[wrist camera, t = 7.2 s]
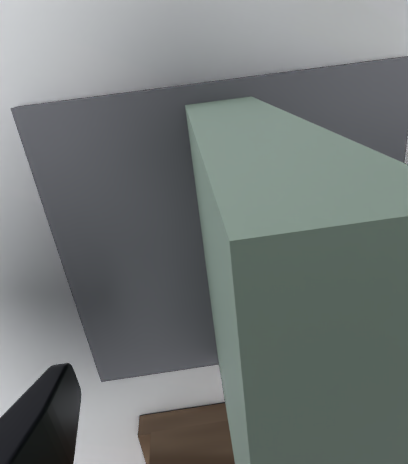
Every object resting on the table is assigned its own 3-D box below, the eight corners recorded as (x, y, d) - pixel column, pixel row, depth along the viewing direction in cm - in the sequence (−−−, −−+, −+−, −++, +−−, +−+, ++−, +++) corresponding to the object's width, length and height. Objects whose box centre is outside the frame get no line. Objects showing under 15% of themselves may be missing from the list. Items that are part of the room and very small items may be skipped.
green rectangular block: (265, 348, 15) (374, 682, 7) (217, 355, 15) (272, 698, 7) (251, 96, 11) (496, 203, 3) (184, 104, 11) (228, 241, 3)
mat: (374, 332, 16) (381, 340, 15) (103, 372, 16) (101, 381, 15) (407, 56, 11) (417, 55, 11) (17, 106, 11) (10, 108, 10)
